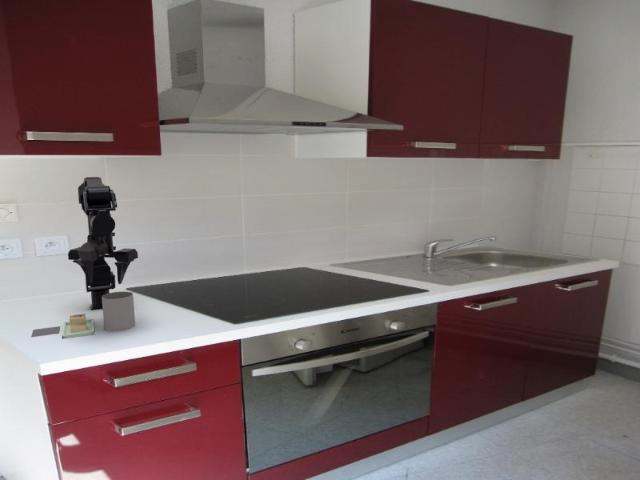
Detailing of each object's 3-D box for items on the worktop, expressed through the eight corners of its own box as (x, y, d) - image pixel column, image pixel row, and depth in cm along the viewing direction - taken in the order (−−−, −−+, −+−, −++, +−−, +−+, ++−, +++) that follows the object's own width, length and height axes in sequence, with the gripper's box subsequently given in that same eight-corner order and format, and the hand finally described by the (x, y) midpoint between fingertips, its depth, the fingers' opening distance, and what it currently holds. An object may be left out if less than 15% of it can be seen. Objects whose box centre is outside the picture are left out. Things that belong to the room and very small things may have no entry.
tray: (64, 326, 149) (64, 322, 149) (93, 322, 152) (93, 318, 152) (62, 340, 137) (61, 336, 137) (94, 335, 140) (93, 331, 140)
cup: (126, 321, 153) (123, 290, 151) (140, 327, 148) (138, 294, 146) (99, 329, 146) (96, 295, 145) (113, 334, 141) (110, 300, 140)
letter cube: (71, 328, 146) (70, 315, 145) (86, 326, 147) (85, 313, 147) (70, 332, 142) (69, 318, 141) (86, 330, 144) (85, 316, 143)
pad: (33, 330, 145) (33, 329, 145) (60, 327, 148) (60, 326, 148) (31, 338, 139) (30, 337, 139) (59, 334, 142) (59, 333, 142)
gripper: (52, 233, 136) (57, 289, 139) (115, 235, 133) (119, 292, 136) (78, 227, 147) (82, 279, 150) (137, 229, 144) (140, 281, 147)
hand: (105, 283), depth 145 cm, fingers open, 9 cm apart
